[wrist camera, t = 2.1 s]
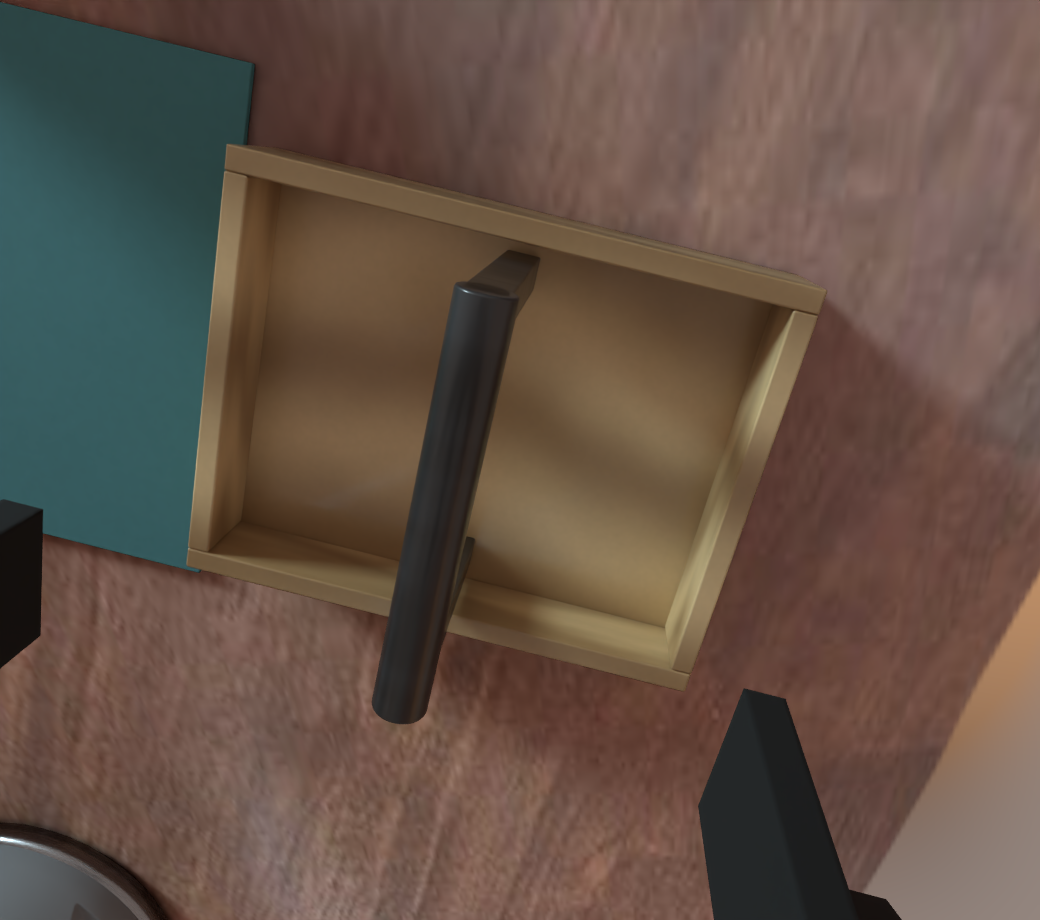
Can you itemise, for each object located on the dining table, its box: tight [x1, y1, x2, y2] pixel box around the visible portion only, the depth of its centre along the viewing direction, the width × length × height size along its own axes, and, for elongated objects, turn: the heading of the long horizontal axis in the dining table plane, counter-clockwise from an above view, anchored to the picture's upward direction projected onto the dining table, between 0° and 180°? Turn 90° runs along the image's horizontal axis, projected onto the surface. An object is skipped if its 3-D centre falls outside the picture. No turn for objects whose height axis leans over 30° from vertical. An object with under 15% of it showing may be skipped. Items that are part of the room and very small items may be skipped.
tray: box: [186, 144, 827, 724], centre depth 26 cm, size 15×19×11 cm
